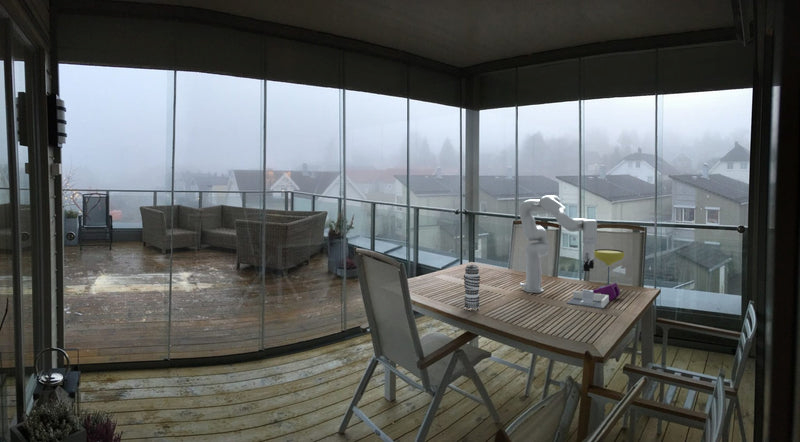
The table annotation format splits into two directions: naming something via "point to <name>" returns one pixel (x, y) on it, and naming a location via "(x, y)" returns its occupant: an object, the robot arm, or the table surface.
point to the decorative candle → (471, 286)
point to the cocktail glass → (609, 257)
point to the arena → (598, 300)
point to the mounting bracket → (609, 291)
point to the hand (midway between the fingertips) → (588, 269)
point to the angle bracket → (587, 297)
